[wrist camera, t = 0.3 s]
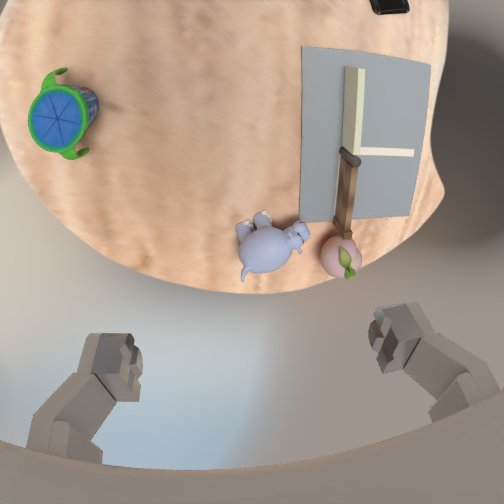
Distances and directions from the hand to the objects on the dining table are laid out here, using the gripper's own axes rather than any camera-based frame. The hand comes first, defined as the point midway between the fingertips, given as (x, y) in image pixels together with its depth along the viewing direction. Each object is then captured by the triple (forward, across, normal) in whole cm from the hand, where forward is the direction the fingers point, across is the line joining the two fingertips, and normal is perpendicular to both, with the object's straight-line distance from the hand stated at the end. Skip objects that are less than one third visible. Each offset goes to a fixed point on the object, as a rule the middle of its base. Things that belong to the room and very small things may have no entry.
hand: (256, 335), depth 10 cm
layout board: (+46, -26, +7) cm, 53 cm away
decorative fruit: (+46, -21, +30) cm, 59 cm away
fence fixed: (+46, -21, +17) cm, 53 cm away
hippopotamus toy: (+46, -7, +26) cm, 54 cm away
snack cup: (+46, +25, -3) cm, 53 cm away
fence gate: (+45, -21, +1) cm, 50 cm away
